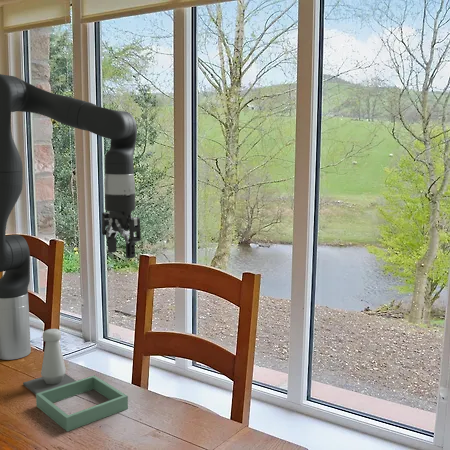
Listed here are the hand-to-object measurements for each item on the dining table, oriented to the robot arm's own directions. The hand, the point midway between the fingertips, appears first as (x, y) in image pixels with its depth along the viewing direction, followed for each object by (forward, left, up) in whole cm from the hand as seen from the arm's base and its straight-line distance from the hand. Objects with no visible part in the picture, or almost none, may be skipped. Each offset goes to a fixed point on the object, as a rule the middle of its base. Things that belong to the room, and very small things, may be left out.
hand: (121, 255), depth 141 cm
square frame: (+13, -19, -30) cm, 38 cm away
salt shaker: (-3, -18, -30) cm, 35 cm away
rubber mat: (-2, -19, -30) cm, 36 cm away
